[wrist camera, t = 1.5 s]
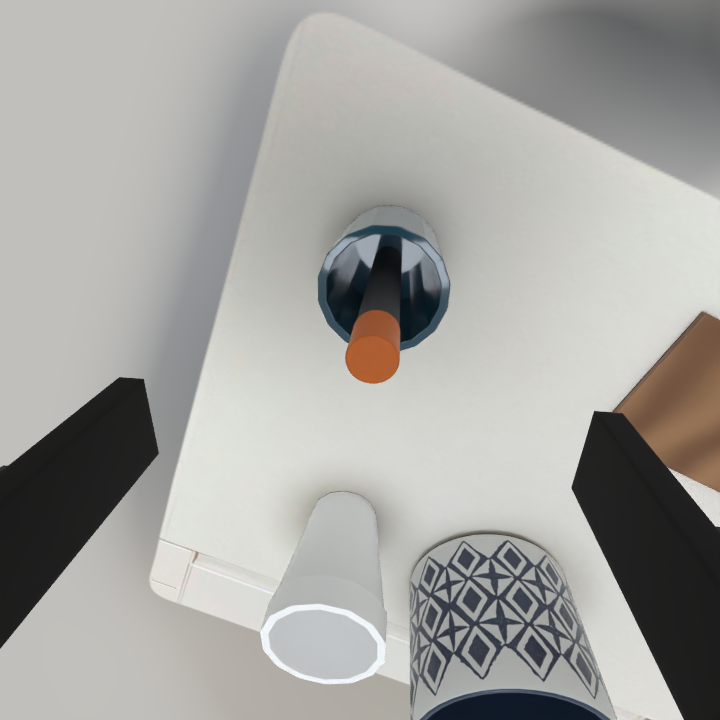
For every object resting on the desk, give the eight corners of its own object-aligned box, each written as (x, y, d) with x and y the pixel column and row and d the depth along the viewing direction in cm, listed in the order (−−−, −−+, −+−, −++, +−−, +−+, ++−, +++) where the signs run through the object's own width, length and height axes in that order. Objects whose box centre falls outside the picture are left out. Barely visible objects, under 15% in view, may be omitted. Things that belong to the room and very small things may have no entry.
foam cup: (365, 561, 47) (352, 698, 36) (285, 528, 46) (244, 657, 35) (408, 502, 43) (408, 634, 32) (321, 464, 42) (288, 586, 31)
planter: (469, 651, 52) (490, 817, 39) (378, 573, 48) (368, 731, 35) (594, 597, 46) (667, 771, 33) (504, 504, 42) (548, 661, 29)
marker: (374, 244, 32) (345, 333, 17) (403, 246, 32) (401, 337, 17) (373, 273, 33) (344, 382, 18) (401, 274, 33) (397, 386, 18)
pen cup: (339, 203, 32) (316, 222, 24) (443, 207, 31) (456, 228, 23) (338, 302, 35) (318, 349, 27) (433, 307, 35) (442, 356, 27)
